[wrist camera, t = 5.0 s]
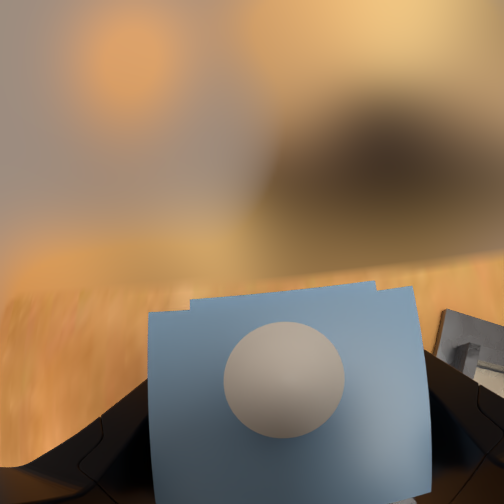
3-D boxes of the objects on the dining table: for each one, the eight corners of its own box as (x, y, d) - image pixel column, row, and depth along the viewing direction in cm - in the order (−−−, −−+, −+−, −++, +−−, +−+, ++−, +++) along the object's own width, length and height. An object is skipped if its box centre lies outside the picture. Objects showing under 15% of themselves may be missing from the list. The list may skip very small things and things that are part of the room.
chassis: (499, 521, 12) (515, 530, 9) (370, 515, 15) (379, 530, 13) (553, 345, 17) (572, 338, 14) (442, 311, 20) (458, 301, 18)
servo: (351, 450, 12) (440, 545, 3) (245, 459, 13) (147, 563, 3) (341, 330, 15) (410, 219, 5) (238, 341, 15) (136, 250, 6)
